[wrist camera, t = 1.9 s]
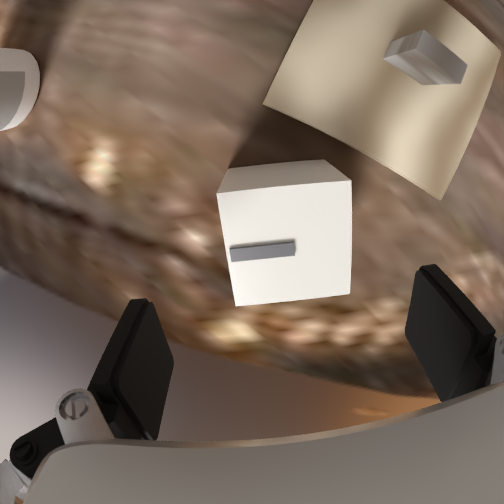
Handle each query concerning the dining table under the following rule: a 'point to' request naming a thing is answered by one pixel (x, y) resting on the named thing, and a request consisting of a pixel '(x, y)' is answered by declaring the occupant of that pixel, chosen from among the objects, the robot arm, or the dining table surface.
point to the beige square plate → (390, 82)
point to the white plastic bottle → (17, 86)
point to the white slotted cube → (287, 231)
